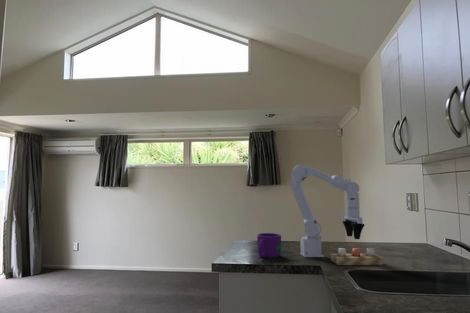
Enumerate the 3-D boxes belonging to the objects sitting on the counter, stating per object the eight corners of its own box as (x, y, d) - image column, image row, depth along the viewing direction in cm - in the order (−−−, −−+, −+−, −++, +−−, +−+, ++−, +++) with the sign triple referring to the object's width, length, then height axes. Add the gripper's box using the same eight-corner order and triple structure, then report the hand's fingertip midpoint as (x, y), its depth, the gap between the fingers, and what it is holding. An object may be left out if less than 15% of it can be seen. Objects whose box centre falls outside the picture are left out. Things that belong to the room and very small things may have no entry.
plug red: (354, 256, 145) (354, 249, 145) (351, 255, 148) (351, 248, 148) (361, 256, 145) (361, 249, 145) (358, 255, 148) (358, 247, 148)
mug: (263, 252, 166) (263, 232, 166) (284, 255, 160) (284, 234, 161) (247, 259, 150) (247, 237, 151) (271, 262, 145) (271, 239, 146)
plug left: (339, 257, 144) (339, 249, 144) (337, 255, 147) (337, 248, 148) (347, 256, 144) (346, 249, 145) (344, 255, 148) (344, 248, 148)
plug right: (368, 256, 145) (368, 249, 145) (365, 255, 148) (365, 247, 149) (375, 256, 145) (375, 249, 146) (372, 255, 148) (372, 247, 149)
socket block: (337, 265, 141) (337, 257, 142) (331, 260, 149) (331, 253, 150) (383, 264, 143) (382, 257, 143) (374, 260, 151) (373, 253, 151)
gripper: (368, 209, 147) (369, 240, 146) (354, 206, 161) (354, 235, 160) (353, 209, 146) (353, 240, 145) (340, 206, 161) (340, 235, 160)
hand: (353, 237), depth 153 cm, fingers open, 7 cm apart
